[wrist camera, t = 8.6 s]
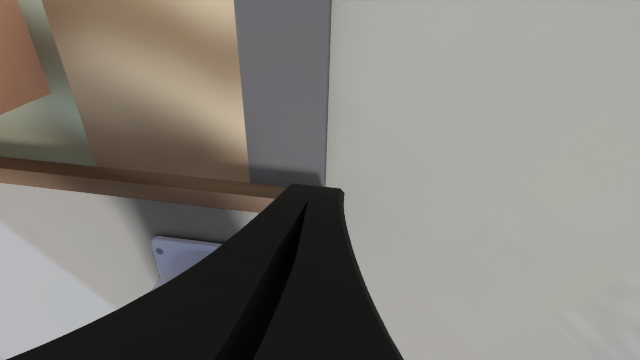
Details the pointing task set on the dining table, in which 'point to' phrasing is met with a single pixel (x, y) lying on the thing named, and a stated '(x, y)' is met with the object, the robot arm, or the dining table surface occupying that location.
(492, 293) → the dining table surface
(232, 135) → the dark brown flat frame
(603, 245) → the dining table surface
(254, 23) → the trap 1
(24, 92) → the block
